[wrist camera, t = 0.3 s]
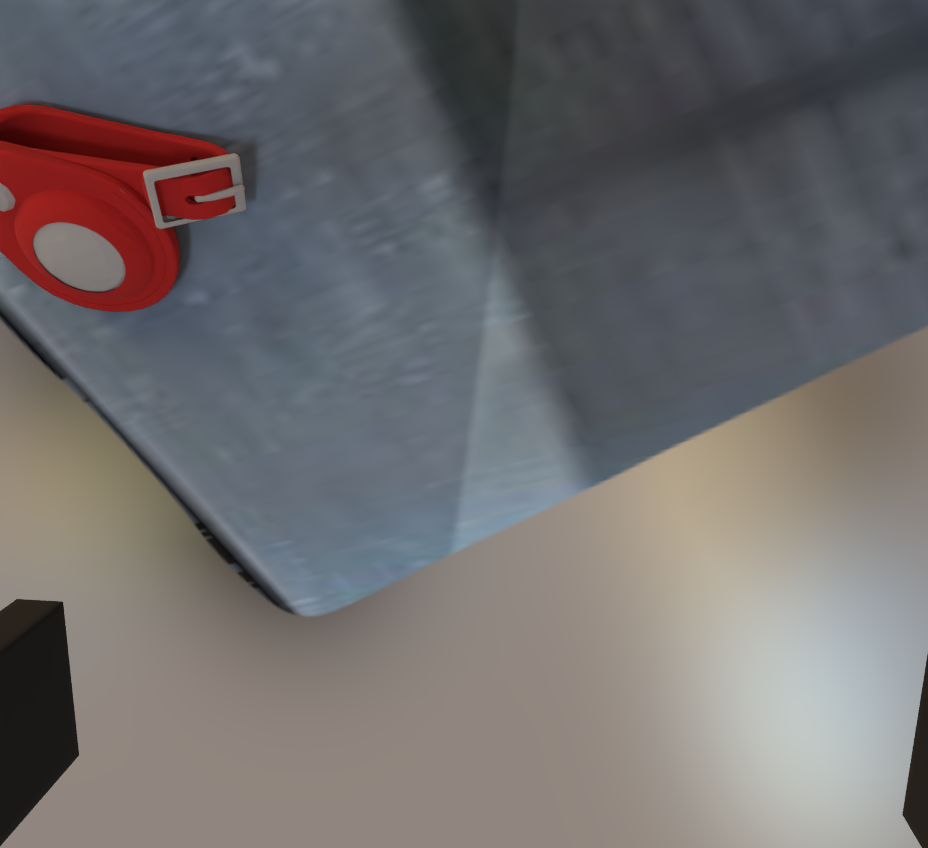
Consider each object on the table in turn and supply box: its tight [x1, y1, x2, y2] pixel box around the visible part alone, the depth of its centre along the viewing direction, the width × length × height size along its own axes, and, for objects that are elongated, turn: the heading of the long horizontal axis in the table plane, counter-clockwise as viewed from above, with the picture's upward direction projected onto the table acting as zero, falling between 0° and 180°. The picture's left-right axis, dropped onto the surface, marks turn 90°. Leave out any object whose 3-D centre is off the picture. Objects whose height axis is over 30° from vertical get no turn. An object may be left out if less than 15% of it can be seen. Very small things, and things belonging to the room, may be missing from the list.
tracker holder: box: [0, 104, 246, 312], centre depth 37 cm, size 12×4×10 cm
